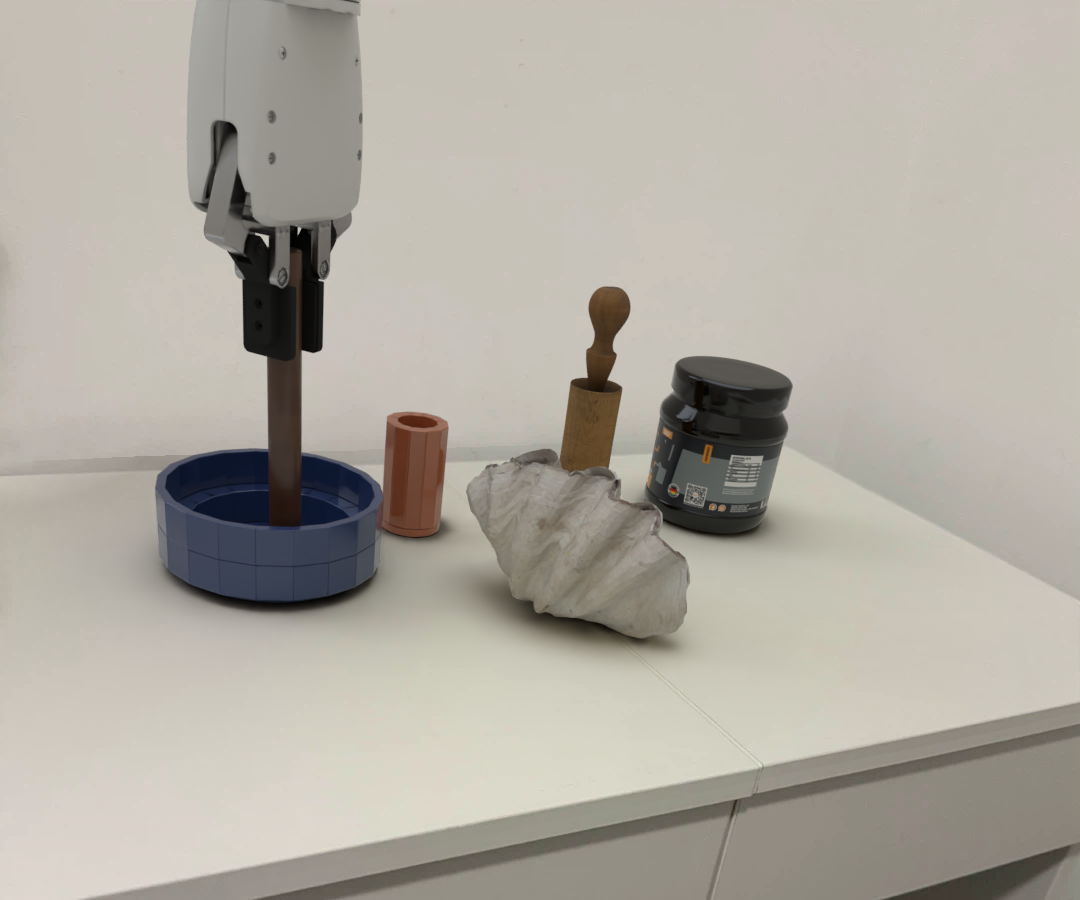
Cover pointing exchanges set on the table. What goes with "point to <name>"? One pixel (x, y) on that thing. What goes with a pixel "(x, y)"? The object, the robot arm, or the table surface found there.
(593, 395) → the mortar and pestle
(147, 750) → the table surface
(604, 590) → the seashell
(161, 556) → the bowl
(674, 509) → the supplement container
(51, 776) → the table surface
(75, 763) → the table surface
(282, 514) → the stick
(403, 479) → the holder
